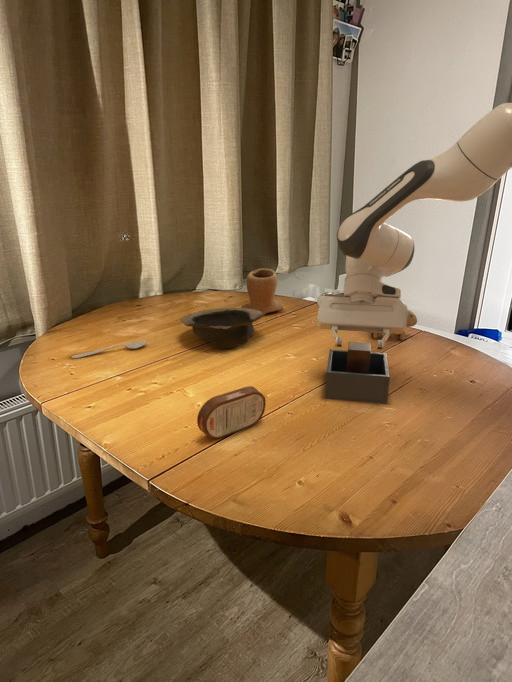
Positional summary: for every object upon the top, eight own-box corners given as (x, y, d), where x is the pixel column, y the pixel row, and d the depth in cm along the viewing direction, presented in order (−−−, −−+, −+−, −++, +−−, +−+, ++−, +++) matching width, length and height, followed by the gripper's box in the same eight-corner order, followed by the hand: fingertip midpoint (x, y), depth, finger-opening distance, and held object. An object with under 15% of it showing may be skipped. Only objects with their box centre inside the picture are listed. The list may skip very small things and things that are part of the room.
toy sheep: (418, 343, 144) (422, 307, 140) (359, 341, 146) (362, 305, 142) (411, 331, 154) (415, 296, 150) (356, 329, 156) (358, 295, 152)
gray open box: (383, 377, 123) (386, 353, 121) (386, 403, 111) (389, 376, 108) (328, 373, 125) (329, 349, 123) (325, 398, 113) (326, 372, 111)
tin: (259, 416, 106) (259, 380, 102) (268, 422, 103) (268, 385, 100) (197, 439, 97) (195, 400, 94) (205, 446, 95) (203, 407, 92)
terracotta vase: (252, 320, 164) (252, 275, 158) (237, 310, 174) (236, 268, 168) (292, 314, 170) (293, 270, 165) (275, 304, 180) (276, 263, 175)
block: (366, 381, 120) (370, 343, 116) (367, 391, 115) (370, 351, 111) (345, 380, 120) (348, 341, 117) (345, 389, 116) (348, 349, 112)
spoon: (149, 348, 141) (148, 343, 140) (72, 360, 133) (71, 354, 132) (146, 343, 144) (145, 338, 144) (70, 355, 137) (70, 349, 136)
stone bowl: (243, 359, 133) (240, 326, 130) (166, 351, 143) (161, 320, 140) (279, 329, 154) (277, 300, 151) (208, 324, 164) (205, 296, 161)
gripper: (318, 285, 118) (313, 338, 113) (407, 289, 114) (406, 344, 109) (318, 298, 124) (313, 349, 118) (403, 302, 120) (403, 355, 115)
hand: (359, 347), depth 114 cm, fingers open, 8 cm apart
